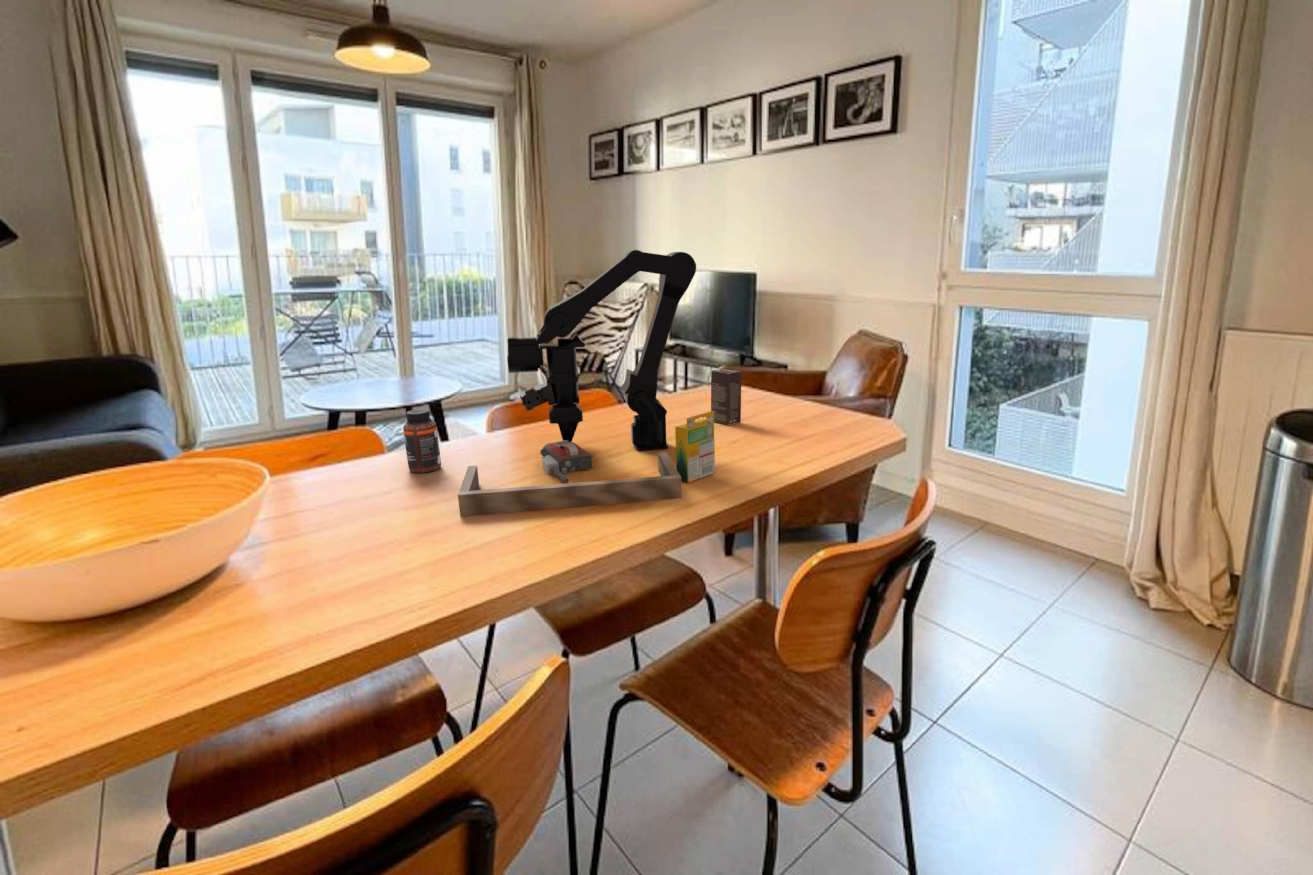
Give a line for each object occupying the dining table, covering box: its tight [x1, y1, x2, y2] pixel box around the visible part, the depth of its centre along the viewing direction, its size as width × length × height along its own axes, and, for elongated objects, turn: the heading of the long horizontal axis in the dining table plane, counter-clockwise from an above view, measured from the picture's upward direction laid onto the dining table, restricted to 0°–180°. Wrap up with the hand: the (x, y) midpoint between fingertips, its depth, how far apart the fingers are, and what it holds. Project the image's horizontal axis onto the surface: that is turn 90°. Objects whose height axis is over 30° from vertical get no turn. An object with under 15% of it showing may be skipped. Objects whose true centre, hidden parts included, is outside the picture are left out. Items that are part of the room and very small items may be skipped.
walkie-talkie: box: [539, 440, 593, 484], centre depth 125 cm, size 9×4×20 cm
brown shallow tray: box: [457, 451, 683, 517], centre depth 113 cm, size 35×14×4 cm, turn 99°
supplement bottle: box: [402, 408, 442, 474], centre depth 126 cm, size 6×6×11 cm
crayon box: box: [674, 410, 716, 484], centre depth 117 cm, size 7×3×12 cm, turn 134°
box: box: [710, 368, 742, 426], centre depth 154 cm, size 6×4×12 cm
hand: (567, 446), depth 135 cm, fingers closed
